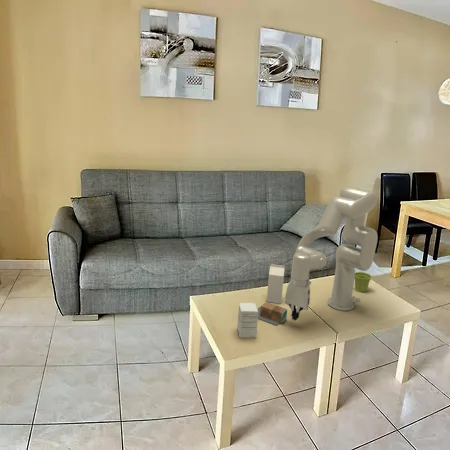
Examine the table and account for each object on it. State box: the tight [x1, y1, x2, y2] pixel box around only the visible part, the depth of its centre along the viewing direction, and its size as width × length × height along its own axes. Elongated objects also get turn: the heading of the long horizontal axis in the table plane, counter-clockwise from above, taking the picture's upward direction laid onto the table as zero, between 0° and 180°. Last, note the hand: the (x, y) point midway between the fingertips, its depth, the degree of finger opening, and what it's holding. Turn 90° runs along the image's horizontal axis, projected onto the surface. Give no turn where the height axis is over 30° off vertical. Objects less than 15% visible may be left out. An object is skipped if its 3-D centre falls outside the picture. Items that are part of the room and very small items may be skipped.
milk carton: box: [266, 263, 286, 304], centre depth 194 cm, size 7×7×19 cm
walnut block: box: [260, 301, 288, 324], centre depth 178 cm, size 5×5×11 cm
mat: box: [257, 306, 280, 327], centre depth 180 cm, size 14×10×1 cm
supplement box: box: [236, 302, 259, 339], centre depth 164 cm, size 7×7×13 cm
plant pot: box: [354, 271, 373, 293], centre depth 212 cm, size 9×9×9 cm
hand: (294, 318), depth 172 cm, fingers closed
